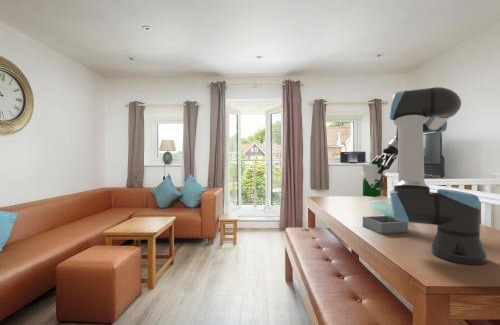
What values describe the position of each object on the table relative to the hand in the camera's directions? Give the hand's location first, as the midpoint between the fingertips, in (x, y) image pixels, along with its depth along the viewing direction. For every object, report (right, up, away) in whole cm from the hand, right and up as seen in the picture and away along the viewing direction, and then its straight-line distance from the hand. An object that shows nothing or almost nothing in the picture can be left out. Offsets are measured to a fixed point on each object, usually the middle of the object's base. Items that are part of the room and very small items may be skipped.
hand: (368, 176), depth 143 cm
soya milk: (+2, -11, 0) cm, 11 cm away
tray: (-1, -25, -18) cm, 31 cm away
